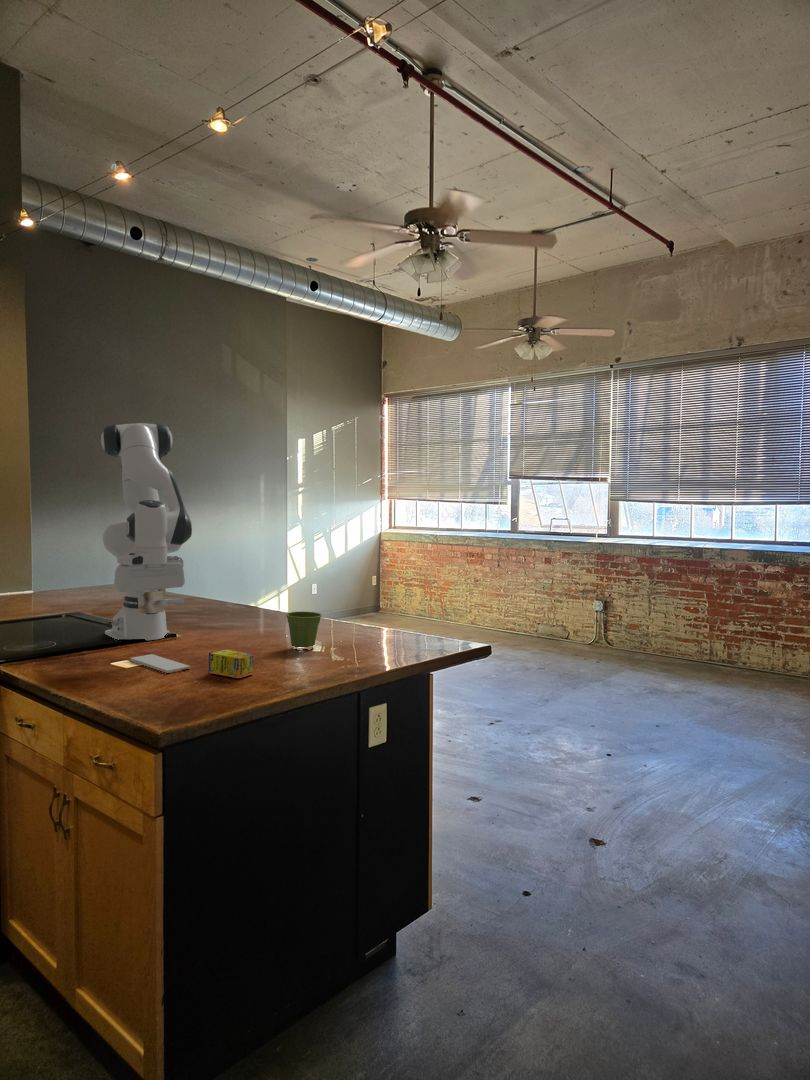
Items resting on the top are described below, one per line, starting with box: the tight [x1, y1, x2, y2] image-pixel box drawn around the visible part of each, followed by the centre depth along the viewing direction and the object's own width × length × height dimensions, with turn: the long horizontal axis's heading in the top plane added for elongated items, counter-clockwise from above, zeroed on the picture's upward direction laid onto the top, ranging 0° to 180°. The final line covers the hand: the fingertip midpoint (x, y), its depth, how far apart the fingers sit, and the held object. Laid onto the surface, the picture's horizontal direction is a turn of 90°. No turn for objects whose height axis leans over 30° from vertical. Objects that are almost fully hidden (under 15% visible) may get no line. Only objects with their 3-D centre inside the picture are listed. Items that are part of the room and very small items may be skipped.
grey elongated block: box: [138, 591, 186, 613], centre depth 196 cm, size 17×5×6 cm, turn 52°
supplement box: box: [208, 649, 254, 676], centre depth 188 cm, size 6×6×11 cm
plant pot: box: [284, 611, 323, 647], centre depth 223 cm, size 12×12×11 cm
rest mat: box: [129, 653, 191, 673], centre depth 196 cm, size 20×7×1 cm, turn 50°
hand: (150, 605), depth 198 cm, fingers closed on grey elongated block, 3 cm apart
